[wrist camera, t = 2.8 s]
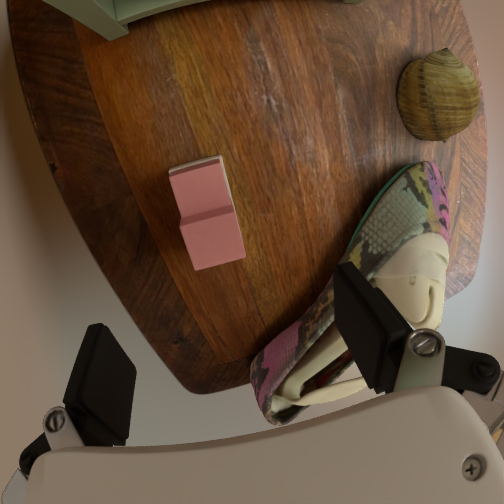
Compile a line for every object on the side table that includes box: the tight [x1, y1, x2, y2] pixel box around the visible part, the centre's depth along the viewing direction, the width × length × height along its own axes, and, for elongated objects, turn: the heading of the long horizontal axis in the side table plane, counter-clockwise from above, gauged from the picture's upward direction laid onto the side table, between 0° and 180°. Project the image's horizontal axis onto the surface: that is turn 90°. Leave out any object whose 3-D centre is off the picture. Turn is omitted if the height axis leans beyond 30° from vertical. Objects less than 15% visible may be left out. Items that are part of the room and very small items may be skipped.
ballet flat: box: [250, 161, 450, 426], centre depth 24 cm, size 10×30×11 cm, turn 145°
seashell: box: [397, 48, 480, 143], centre depth 18 cm, size 10×7×8 cm
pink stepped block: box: [168, 154, 246, 271], centre depth 20 cm, size 7×4×4 cm, turn 12°
